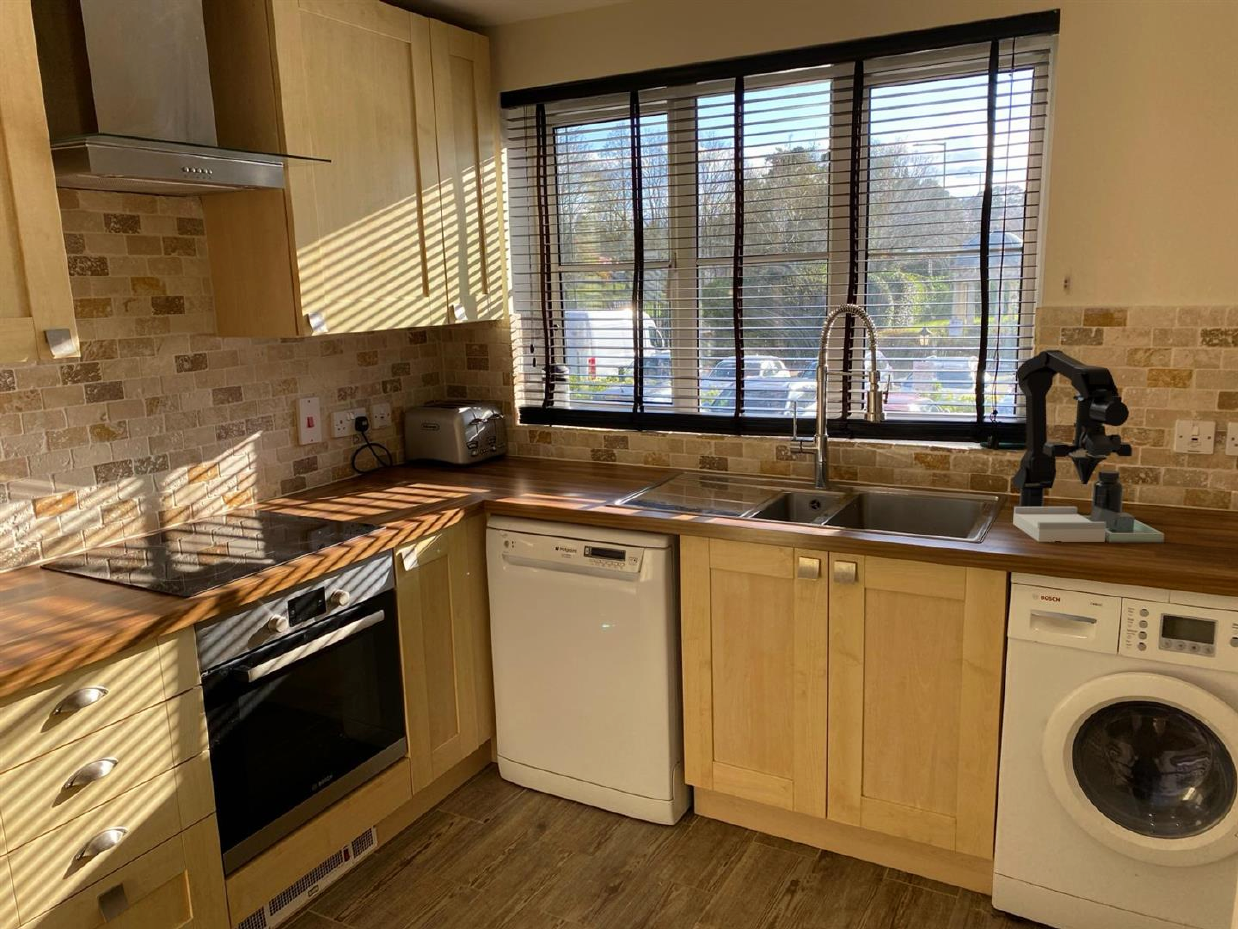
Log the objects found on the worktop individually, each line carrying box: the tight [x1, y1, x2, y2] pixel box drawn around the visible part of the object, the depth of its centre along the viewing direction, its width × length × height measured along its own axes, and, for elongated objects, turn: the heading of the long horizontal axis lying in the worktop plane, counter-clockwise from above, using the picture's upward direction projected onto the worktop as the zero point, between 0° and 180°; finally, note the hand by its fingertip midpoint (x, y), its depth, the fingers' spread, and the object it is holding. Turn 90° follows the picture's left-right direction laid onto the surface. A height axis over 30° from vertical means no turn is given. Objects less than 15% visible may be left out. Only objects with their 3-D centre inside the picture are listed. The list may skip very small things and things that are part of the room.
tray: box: [1082, 515, 1165, 543], centre depth 221 cm, size 18×12×2 cm, turn 176°
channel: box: [1012, 506, 1106, 543], centre depth 222 cm, size 17×15×4 cm
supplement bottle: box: [1091, 469, 1124, 513], centre depth 236 cm, size 7×7×12 cm
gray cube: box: [1110, 512, 1135, 533], centre depth 221 cm, size 4×4×4 cm
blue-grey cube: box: [1089, 506, 1118, 530], centre depth 221 cm, size 4×4×4 cm
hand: (1084, 484), depth 221 cm, fingers closed
